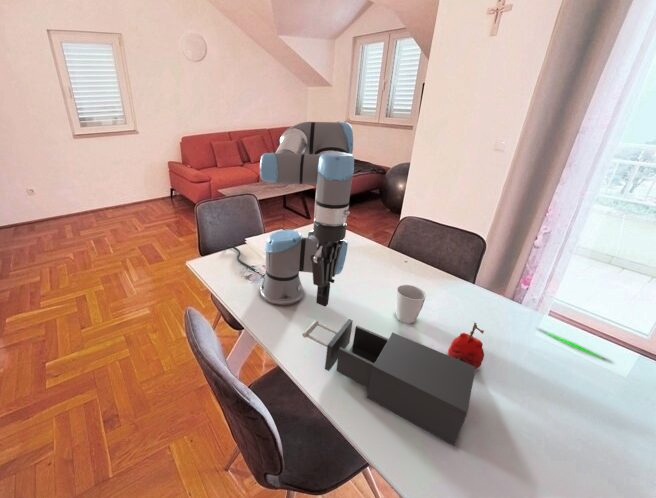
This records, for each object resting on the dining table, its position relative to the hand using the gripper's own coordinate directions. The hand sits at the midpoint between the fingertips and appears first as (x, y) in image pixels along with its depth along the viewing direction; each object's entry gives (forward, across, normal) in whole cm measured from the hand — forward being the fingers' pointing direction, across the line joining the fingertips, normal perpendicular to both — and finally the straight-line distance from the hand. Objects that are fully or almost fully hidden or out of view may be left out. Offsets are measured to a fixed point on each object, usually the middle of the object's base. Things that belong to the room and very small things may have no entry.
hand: (322, 303), depth 83 cm
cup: (+15, +28, -16) cm, 36 cm away
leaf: (+16, +46, -56) cm, 74 cm away
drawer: (+14, -1, -10) cm, 17 cm away
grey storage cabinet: (+15, 0, -26) cm, 30 cm away
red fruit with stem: (+15, +19, -33) cm, 41 cm away
